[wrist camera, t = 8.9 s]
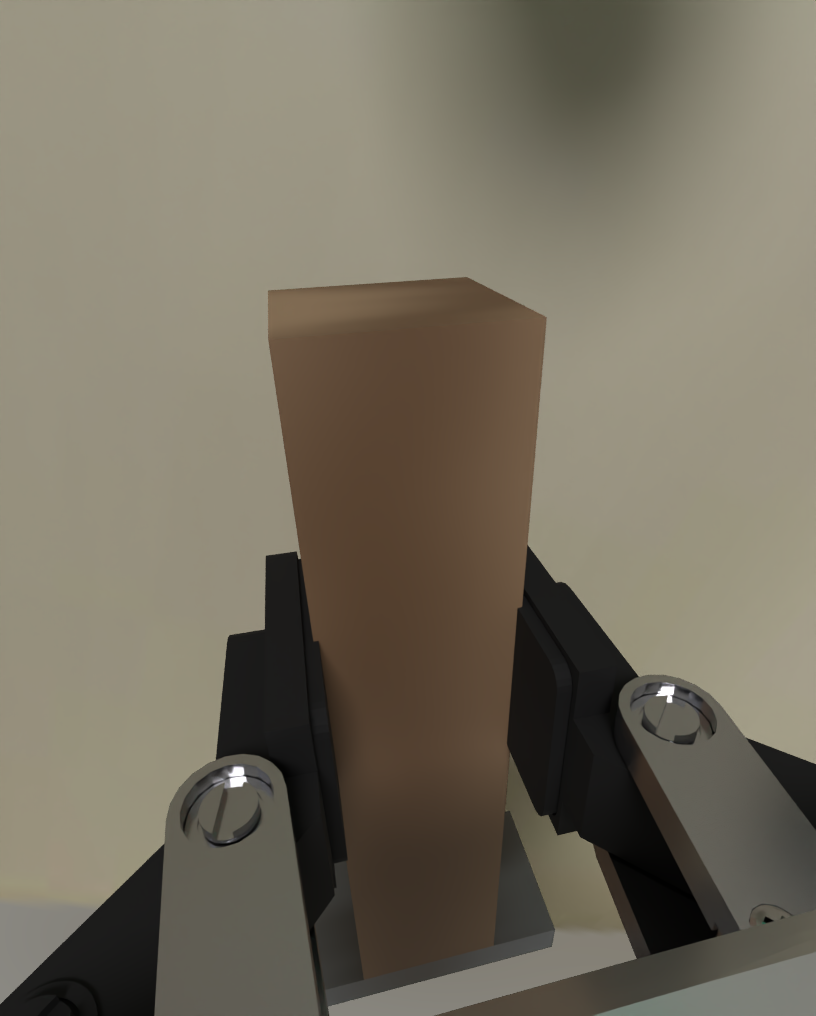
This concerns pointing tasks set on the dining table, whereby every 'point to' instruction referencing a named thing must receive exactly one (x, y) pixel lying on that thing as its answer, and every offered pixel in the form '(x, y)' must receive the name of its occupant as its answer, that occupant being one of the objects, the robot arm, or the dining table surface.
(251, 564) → the dining table surface
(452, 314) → the tall wooden post
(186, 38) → the dining table surface
